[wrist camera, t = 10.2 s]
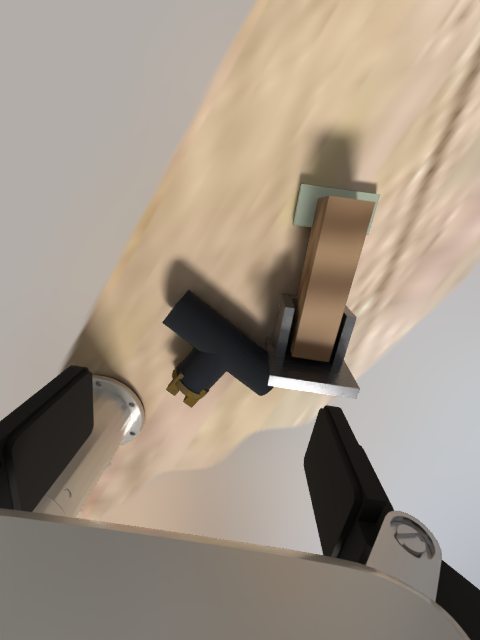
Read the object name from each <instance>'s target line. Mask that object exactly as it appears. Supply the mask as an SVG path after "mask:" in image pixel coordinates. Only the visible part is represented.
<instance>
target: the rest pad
mask: <svg viewBox="0 0 480 640" xmlns="http://www.w3.org/2000/svg"><path fill="white" fill-rule="evenodd" d="M326 196H336V197H343V198H350V199H358V200H365V201H372V202H376V203H375V206H374V210H373V213H372V216H371V220H370V223H369V227H368V230H367V234H366V235H368V234H369V231H370V228H371V224H372V221H373V217H374V214H375V210H376V207H377V204H378V200H379V197H380V194H373V193H365V192H358V191H351V190H343V189H336V188H329V187H321V186H314V185H307V184H301V185H300V190H299V195H298V200H297V206H296V211H295V216H294V221H293V225H297V226H305V227H312V224H313V220H314V215H315V210H316V206H317V201H318V198H322V197H326Z"/></svg>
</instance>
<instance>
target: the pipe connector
mask: <svg viewBox="0 0 480 640" xmlns="http://www.w3.org/2000/svg"><path fill="white" fill-rule="evenodd" d="M162 323H163V324H165V325H166V326H167V327H169V328H170V329H171V330H173V331H174V332H175V333H177V334H178V335H179V336H181V337H182V338H183V339H185V340H186V341H187V342H189V343H190V344H191V345H193V346H194V347H195V348H194V349H193V350H192V351H191V353H190V354H189V355H188V356H187V357H186V358H185V359H184V361H183V362H182V363H180V364H179V365H178V366H177V367H176V368H175V369H174V370H173V373H172V377H173V380H172V381H171V382H170V384H169V385H168V387H167V389H166V390H167V391H168V392H170V393H171V394H173V395H174V396H175V395H176V394H177V393H178V392H179V391H181V392H182V393H183V394H184V395H186V396H185V398H184V401H183V402H184V403H186V404H187V405H188V406H190V407H191V408H192V407H193V406H194V405H195V404H196V403H197V401H198V400H199V399H201V398H203V397H204V396H205V395H206V394H207V393H208V391H209V389H210V388H211V387H212V386H213V385H214V384H215V383H216V382H217V381H218V379H219V378H220V377H221V376H222V375H223V374H224V373H225V372H226V371H227V372H229V373H230V374H231V375H233V376H234V377H235V378H237V379H238V380H239V381H241V382H242V383H243V384H245V385H246V386H247V387H249V388H250V389H251V390H253V391H254V392H255V393H257V394H258V395H260V396H262V395H265V394H267V393H268V392H269V391H270V390H272V388H273V387H274V386H268V380H267V355H266V351H265V350H264V349H263V348H261V347H260V346H259V345H258V344H256V343H255V342H254V341H253V340H251V339H250V338H249V337H247V336H246V335H245V334H244V333H242V332H241V331H240V330H239V329H237V328H236V327H235V326H234V325H232V324H231V323H230V322H229V321H227V320H226V319H225V318H224V317H222V316H221V315H220V314H219V313H217V312H216V311H215V310H214V309H212V308H211V307H210V306H208V305H207V304H206V303H205V302H203V301H202V300H201V299H200V298H198V297H197V296H196V295H195V294H193V293H192V292H191V291H190V290H188V291H187V292H186V294H185V295H184V296H183V297H182V298H181V299H180V301H179V302H178V303H177V304H176V306H175V307H174V308H173V309H172V311H171V312H170V313H169V314H168V316H167V317H166V318H165V320H164V321H163V322H162Z"/></svg>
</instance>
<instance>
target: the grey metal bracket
mask: <svg viewBox="0 0 480 640" xmlns="http://www.w3.org/2000/svg"><path fill="white" fill-rule="evenodd" d="M296 297H297V296H293V295H286V294H282V296H281V301H280V306H279V311H278V316H277V321H276V327H275V332H274V337H273V338H270V337H268V338H267V343H266V355H267V380H268V386H274V387H281V388H287V389H294V390H301V391H307V392H314V393H321V394H327V395H334V396H341V397H347V398H354V399H357V396H358V393H359V390H360V388H359V386H358V384H357V383H356V381H355V379H354V377H353V376H352V374H351V372H350V370H349V369H348V367H347V365H346V363H345V361H344V357H345V353H346V350H347V347H348V344H349V340H350V337H351V334H352V331H353V328H354V324H355V321H356V318H357V317H356V316H355V315H354V314H353V313H352V312H351V311H350V310H349V309H348V307H347V306H346V305H345V309H344V312H343V316H342V319H341V322H340V326H339V329H338V333H337V336H336V339H335V343H334V346H333V350H332V353H331V357H330V360H329V362H325V361H318V360H311V359H305V358H298V357H292V354H291V349H290V345H289V340H288V337H289V333H290V328H291V323H292V319H293V314H294V310H295V308H294V306H295V302H296Z"/></svg>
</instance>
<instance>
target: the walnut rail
mask: <svg viewBox="0 0 480 640" xmlns="http://www.w3.org/2000/svg"><path fill="white" fill-rule="evenodd" d="M375 203H376V202H372V201H365V200H358V199H350V198H343V197H336V196H326V197H322V198H318V201H317V206H316V210H315V215H314V220H313V224H312V229H311V233H310V238H309V242H308V247H307V252H306V256H305V261H304V265H303V270H302V274H301V279H300V284H299V288H298V293H297V297H296V302H295V306H294V308H295V310H294V314H293V319H292V323H291V328H290V333H289V337H288V340H289V345H290V349H291V354H292V357H298V358H305V359H311V360H318V361H325V362H329V360H330V357H331V353H332V350H333V346H334V343H335V339H336V336H337V333H338V329H339V326H340V322H341V319H342V316H343V312H344V309H345V305H346V302H347V298H348V295H349V292H350V288H351V285H352V281H353V278H354V275H355V271H356V268H357V264H358V261H359V257H360V254H361V251H362V247H363V244H364V240H365V237H366V234H367V230H368V227H369V223H370V220H371V216H372V213H373V210H374V206H375Z"/></svg>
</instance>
